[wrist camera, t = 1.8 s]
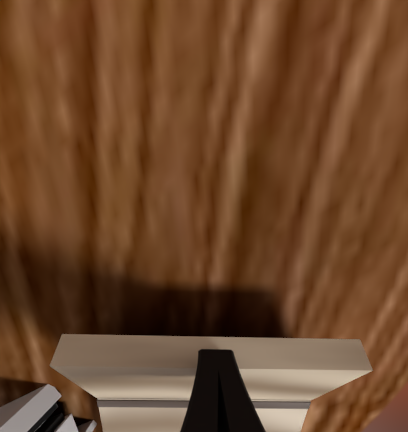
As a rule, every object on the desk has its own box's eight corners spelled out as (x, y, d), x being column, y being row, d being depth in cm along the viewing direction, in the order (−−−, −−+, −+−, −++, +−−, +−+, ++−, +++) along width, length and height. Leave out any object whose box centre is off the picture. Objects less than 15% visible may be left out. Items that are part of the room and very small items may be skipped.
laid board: (285, 442, 19) (290, 464, 18) (114, 441, 19) (108, 463, 17) (302, 381, 16) (310, 401, 15) (104, 378, 16) (96, 399, 15)
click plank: (306, 377, 16) (311, 399, 15) (102, 374, 16) (96, 397, 15) (359, 339, 11) (372, 370, 10) (61, 334, 11) (49, 365, 10)
